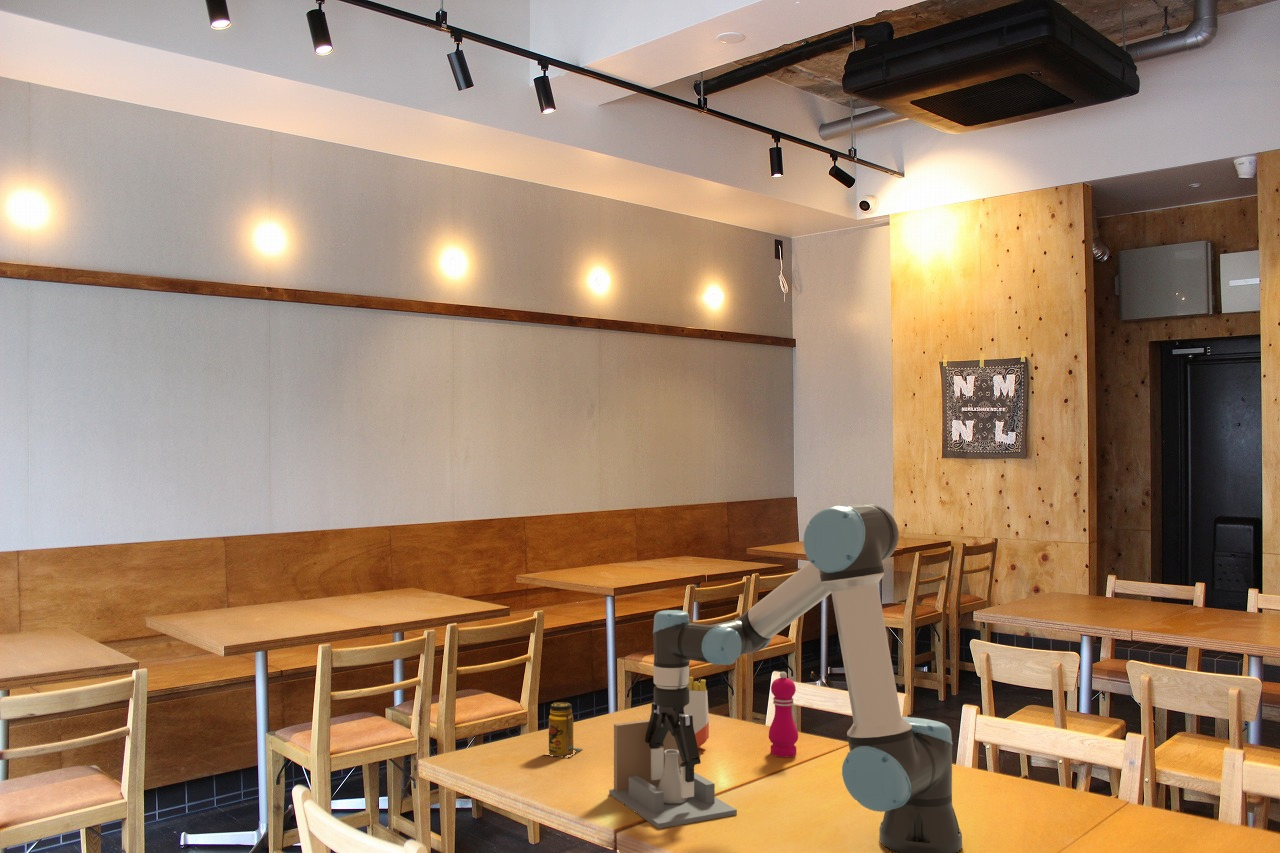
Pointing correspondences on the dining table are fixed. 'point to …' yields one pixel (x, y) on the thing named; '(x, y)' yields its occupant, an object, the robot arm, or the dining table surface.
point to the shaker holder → (657, 782)
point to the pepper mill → (783, 718)
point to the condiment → (561, 730)
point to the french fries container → (698, 710)
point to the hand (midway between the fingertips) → (671, 787)
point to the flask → (671, 779)
